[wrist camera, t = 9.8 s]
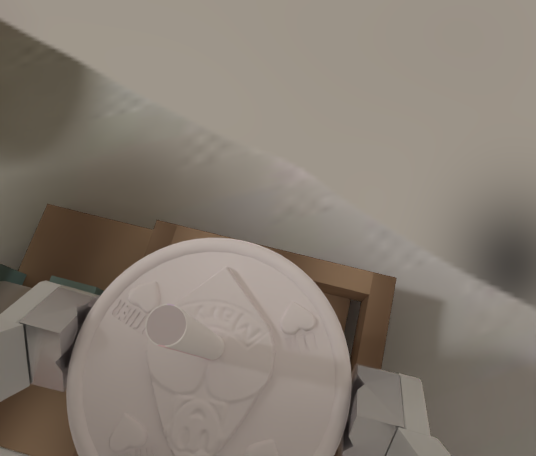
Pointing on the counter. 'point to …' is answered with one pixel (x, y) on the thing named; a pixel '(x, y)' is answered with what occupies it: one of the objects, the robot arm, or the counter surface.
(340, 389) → the smoothie
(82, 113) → the counter surface
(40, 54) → the counter surface
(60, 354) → the robot arm
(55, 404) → the brown wooden tray
